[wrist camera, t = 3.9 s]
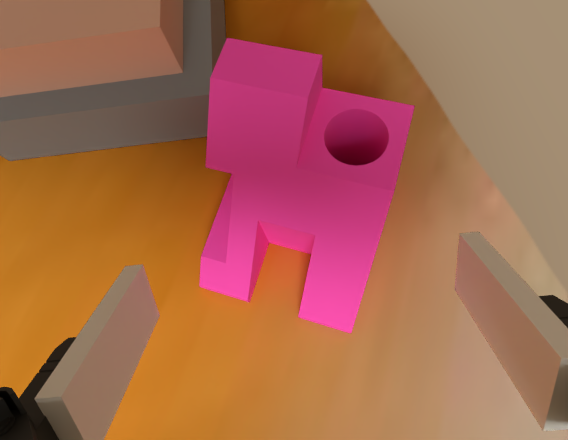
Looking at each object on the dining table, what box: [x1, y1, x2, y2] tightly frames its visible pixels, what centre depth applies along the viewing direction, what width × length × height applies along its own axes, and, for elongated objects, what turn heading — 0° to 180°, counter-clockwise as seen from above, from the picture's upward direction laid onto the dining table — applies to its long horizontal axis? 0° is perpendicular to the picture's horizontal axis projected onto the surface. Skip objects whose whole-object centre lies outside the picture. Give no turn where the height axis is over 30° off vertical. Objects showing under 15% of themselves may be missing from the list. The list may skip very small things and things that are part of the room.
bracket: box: [200, 38, 415, 333], centre depth 23 cm, size 12×10×10 cm
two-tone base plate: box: [0, 0, 226, 161], centre depth 30 cm, size 18×20×9 cm
